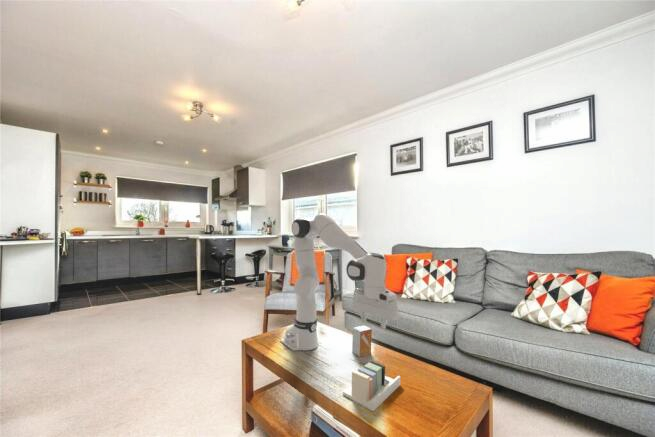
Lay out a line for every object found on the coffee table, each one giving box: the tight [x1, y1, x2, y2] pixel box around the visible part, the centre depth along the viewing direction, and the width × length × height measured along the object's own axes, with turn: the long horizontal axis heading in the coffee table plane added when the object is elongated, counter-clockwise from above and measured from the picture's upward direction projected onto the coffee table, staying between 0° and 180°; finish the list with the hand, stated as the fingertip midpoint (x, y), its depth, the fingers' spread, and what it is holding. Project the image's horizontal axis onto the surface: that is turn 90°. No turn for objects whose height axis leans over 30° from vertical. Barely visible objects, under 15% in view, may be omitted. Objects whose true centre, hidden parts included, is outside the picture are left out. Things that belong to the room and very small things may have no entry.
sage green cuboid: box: [363, 361, 382, 392], centre depth 109 cm, size 6×4×8 cm, turn 50°
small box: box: [351, 325, 373, 358], centre depth 141 cm, size 8×6×13 cm
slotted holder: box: [342, 360, 401, 412], centre depth 109 cm, size 14×22×10 cm, turn 139°
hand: (373, 325), depth 112 cm, fingers open, 8 cm apart
